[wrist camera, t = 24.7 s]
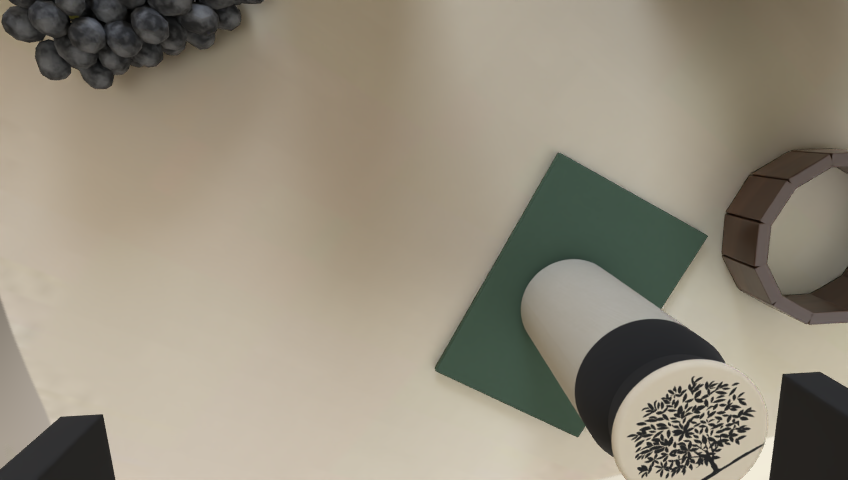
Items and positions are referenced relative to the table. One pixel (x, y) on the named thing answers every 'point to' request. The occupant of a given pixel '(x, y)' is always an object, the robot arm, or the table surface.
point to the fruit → (115, 32)
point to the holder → (752, 236)
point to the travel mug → (643, 378)
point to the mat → (544, 245)
